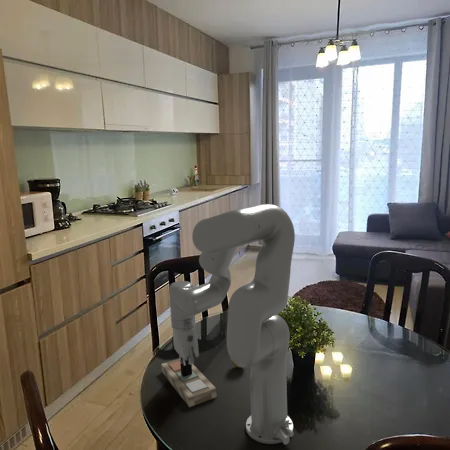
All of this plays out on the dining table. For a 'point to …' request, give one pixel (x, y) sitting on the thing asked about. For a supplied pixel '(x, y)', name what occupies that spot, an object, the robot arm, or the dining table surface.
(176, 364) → the terracotta button
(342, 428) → the dining table surface
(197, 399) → the button board
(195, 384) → the offwhite button
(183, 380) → the sage button
